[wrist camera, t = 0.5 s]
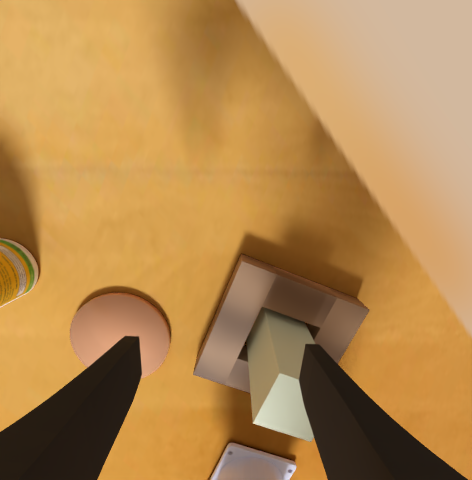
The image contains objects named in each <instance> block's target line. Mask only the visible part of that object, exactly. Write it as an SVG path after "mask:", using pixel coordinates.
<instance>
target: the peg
mask: <svg viewBox="0 0 472 480" xmlns="http://www.w3.org/2000/svg"><path fill="white" fill-rule="evenodd" d="M305 344H315V342H314V340H313V338H312V336H311V334H310V332H309V330H308V328H307V326H306V324H305V322H303V321H300V320H298V319H295V318H292V317H290V316H287V315H284V314H281V313H279V312H276V311H273V310H270V309H268V308H265V307H262V308H261V310H260V312H259V314H258V316H257V318H256V320H255V322H254V325H253V327H252V329H251V331H250V333H249V335H248V337H247V352H248V366H249V379H250V392H251V406H252V419H253V424H256V425H259V426H262V427H266V428H269V429H272V430H275V431H278V432H281V433H285V434H288V435H291V436H294V437H297V438H300V439H304V440H307V441H310V442H311V441H312V439H313V438H314V435H313V432H312V429H311V426H310V423H309V419H308V416H307V413H306V410H305V407H304V403H303V398H302V394H301V389H300V384H299V376H300V371H301V365H302V360H303V355H304V349H305Z"/></svg>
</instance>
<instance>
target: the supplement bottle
mask: <svg viewBox="0 0 472 480" xmlns="http://www.w3.org/2000/svg"><path fill="white" fill-rule="evenodd" d="M37 280H38V266H37V263H36V261H35V259H34V257H33V256H32V254H31V253H30V252H29V251H28V250H27V249H26V248H25V247H23V246H22V245H20V244H18V243H17V242H14V241H12V240H8V239H2V238H0V308H1V307H3V306H4V305H6V304H8V303H10V302H12V301H14V300H16V299H18V298H20V297H22V296H23V295H25V294H27V293H28V292H30V291H31V290H32V289H33V288H34V286H35V284H36V282H37Z"/></svg>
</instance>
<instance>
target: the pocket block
mask: <svg viewBox="0 0 472 480" xmlns="http://www.w3.org/2000/svg"><path fill="white" fill-rule="evenodd" d="M261 307H265V308H268V309H270V310H273V311H276V312H279V313H281V314H284V315H287V316H290V317H292V318H295V319H298V320H300V321H303V322H306V323H308V325H307V328H308V330H309V332H310V334H311V336H312V338H313V340H314V342H315V344H319V345H320V346H321V347H322V348H323V349H324V350H325V351H326V352H327V353H328V354H329V355H330V356H331V357H332V359H333V360H334V361H335V362H336V363H337V364H338V362H339V361H340V359H341V357H342V356H343V354H344V352H345V351H346V349H347V347H348V346H349V344H350V342H351V340H352V339H353V337H354V335H355V334H356V332H357V330H358V329H359V327H360V325H361V324H362V322H363V320H364V319H365V317H366V315H367V314H368V312H369V309H368V308H367V307H366V306H365V305H364V304H363V303H362V302H360V301H359V300H358V299H357V298H355V297H352V296H350V295H347V294H344V293H342V292H339V291H337V290H334V289H331V288H329V287H326V286H324V285H321V284H318V283H316V282H313V281H311V280H308V279H306V278H303V277H300V276H298V275H295V274H293V273H290V272H287V271H285V270H282V269H280V268H277V267H275V266H272V265H269V264H267V263H264V262H262V261H259V260H256V259H254V258H251V257H249V256H246V255H243V254H241V255H240V258H239V260H238V263H237V265H236V267H235V270H234V272H233V274H232V277H231V279H230V281H229V284H228V286H227V288H226V291H225V293H224V295H223V298H222V300H221V302H220V305H219V307H218V309H217V312H216V314H215V316H214V319H213V321H212V323H211V326H210V328H209V330H208V333H207V335H206V337H205V340H204V342H203V344H202V347H201V349H200V352H199V354H198V356H197V359H196V364H195V368H194V373H193V375H196V376H199V377H202V378H205V379H208V380H211V381H214V382H217V383H220V384H223V385H226V386H229V387H232V388H236V389H239V390H242V391H245V392H248V393H251V392H250V379H249V366H248V352H247V346H244V343H245V341H246V339H247V337H248V335H249V332H250V330H251V328H252V326H253V324H254V322H255V320H256V318H257V316H258V313H259V311H260V309H261Z"/></svg>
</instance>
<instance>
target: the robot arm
mask: <svg viewBox="0 0 472 480" xmlns="http://www.w3.org/2000/svg"><path fill="white" fill-rule="evenodd" d="M141 376H142V366H141V353H140V339H139V336H124V337H123V338H122V339H121V340H119V341H118V342H117V343H116V344H115V345H114V346H112V347H111V348H110V349H109V350H108V351H107V352H105V353H104V354H103V355H102V356H101V357H100V358H98V359H97V360H96V361H95V362H94V363H93V364H91V365H90V366H89V367H88V368H87V369H85V370H84V371H83V372H82V373H81V374H79V375H78V376H77V377H76V378H74V379H73V380H72V381H71V382H69V383H68V384H67V385H66V386H64V387H63V388H62V389H60V390H59V391H58V392H57V393H55V394H54V395H53V396H51V397H50V398H49V399H47V400H46V401H45V402H43V403H42V404H41V405H39V406H38V407H36V408H35V409H34V410H32V411H31V412H29V413H28V414H26V415H25V416H23V417H22V418H21V419H19V420H18V421H16V422H15V423H13V424H12V425H10V426H9V427H7V428H6V429H4V430H3V431H1V432H0V480H97V479H98V477H99V474H100V472H101V470H102V467H103V465H104V463H105V461H106V459H107V456H108V454H109V452H110V450H111V448H112V446H113V443H114V441H115V439H116V437H117V435H118V433H119V430H120V428H121V426H122V424H123V422H124V419H125V417H126V415H127V413H128V411H129V408H130V406H131V404H132V402H133V399H134V396H135V394H136V391H137V388H138V385H139V382H140V379H141ZM299 384H300V389H301V394H302V398H303V403H304V407H305V410H306V413H307V416H308V419H309V423H310V426H311V429H312V432H313V435H314V438H315V441H316V444H317V447H318V450H319V453H320V456H321V459H322V462H323V466H324V469H325V472H326V475H327V478H328V480H468V479H466V478H465V477H464V476H462V475H461V474H460V473H458V472H457V471H456V470H454V469H453V468H452V467H451V466H449V465H448V464H447V463H445V462H444V461H443V460H442V459H440V458H439V457H438V456H436V455H435V454H434V453H433V452H431V451H430V450H429V449H428V448H426V447H425V446H424V445H423V444H421V443H420V442H419V441H418V440H417V439H415V438H414V437H413V436H412V435H411V434H410V433H408V432H407V431H406V430H405V429H404V428H403V427H401V426H400V425H399V424H398V423H397V422H396V421H394V420H393V419H392V418H391V417H390V416H389V415H388V414H387V413H386V412H385V411H384V410H382V409H381V408H380V407H379V406H378V405H377V404H376V403H375V402H374V401H373V400H372V399H371V398H370V397H369V396H368V395H367V394H366V393H365V392H364V391H363V390H362V389H361V388H360V387H359V386H358V385H357V384H356V383H355V382H354V381H353V380H352V379H351V378H350V377H349V376H348V375H347V374H346V373H345V372H344V371H343V369H342V368H341V367H340V366H339V365H338V364H337V363H336V362H335V361H334V360H333V359H332V357H331V356H330V355H329V354H328V353H327V352H326V351H325V350H324V349H323V348H322V347H321V346H320V345H319V344H305V349H304V355H303V360H302V365H301V371H300V376H299ZM295 469H296V463H295V462H294V461H292V460H288V459H285V458H282V457H279V456H275V455H272V454H269V453H265V452H262V451H259V450H256V449H252V448H249V447H246V446H242V445H239V444H236V443H229V444H228V445H227V447H226V449H225V451H224V453H223V455H222V457H221V459H220V461H219V463H218V465H217V466H216V468H215V470H214V472H213V474H212V476H211V478H210V480H289V479H290V478H291V476H292V474H293V473H294V471H295Z"/></svg>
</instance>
